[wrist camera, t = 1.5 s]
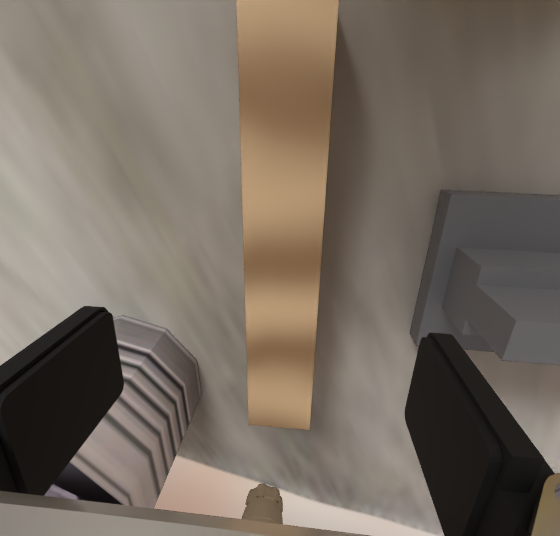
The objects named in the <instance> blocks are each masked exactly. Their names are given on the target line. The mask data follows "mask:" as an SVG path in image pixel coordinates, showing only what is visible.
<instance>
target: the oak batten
mask: <svg viewBox="0 0 560 536" xmlns="http://www.w3.org/2000/svg"><path fill="white" fill-rule="evenodd" d="M338 4H339V0H237V33H238V68H239V103H240V137H241V172H242V206H243V241H244V275H245V310H246V344H247V379H248V414H249V425H259V426H271V427H283V428H295V429H306V430H310V416H311V401H312V387H313V372H314V357H315V342H316V328H317V313H318V298H319V284H320V269H321V254H322V239H323V225H324V210H325V195H326V180H327V166H328V151H329V136H330V121H331V107H332V92H333V77H334V63H335V48H336V33H337V18H338Z"/></svg>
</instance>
